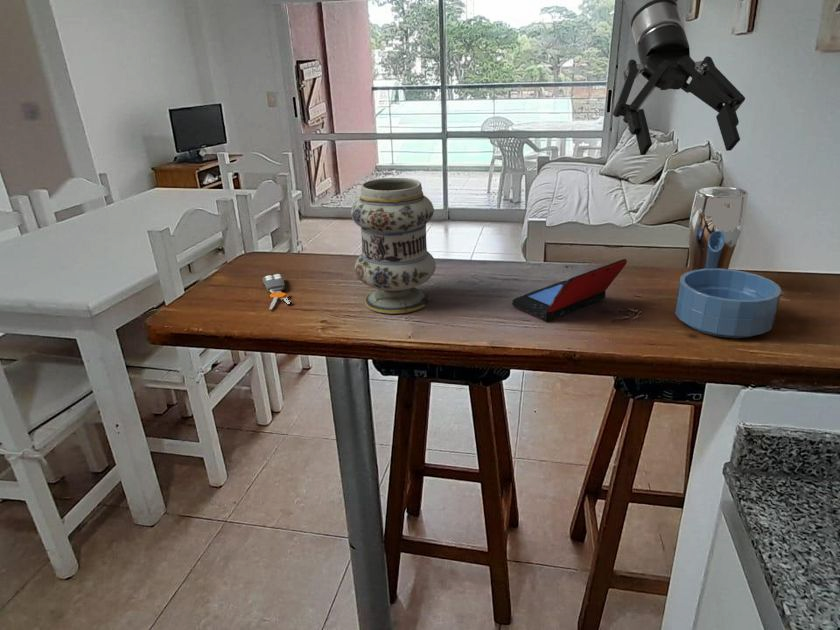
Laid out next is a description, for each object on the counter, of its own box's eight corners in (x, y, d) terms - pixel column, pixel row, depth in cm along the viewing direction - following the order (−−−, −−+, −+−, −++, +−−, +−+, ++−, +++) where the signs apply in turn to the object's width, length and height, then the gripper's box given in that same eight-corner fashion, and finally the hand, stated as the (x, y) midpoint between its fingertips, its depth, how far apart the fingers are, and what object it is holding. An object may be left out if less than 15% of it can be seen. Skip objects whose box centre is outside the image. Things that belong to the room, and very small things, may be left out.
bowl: (728, 300, 83) (735, 264, 80) (793, 334, 72) (803, 294, 70) (656, 310, 80) (662, 274, 78) (713, 347, 70) (721, 306, 68)
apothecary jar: (427, 320, 81) (422, 193, 73) (347, 315, 83) (334, 192, 76) (443, 288, 91) (440, 174, 84) (371, 285, 94) (362, 174, 86)
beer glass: (668, 287, 88) (683, 189, 82) (702, 279, 90) (719, 183, 84) (705, 302, 82) (724, 199, 76) (740, 293, 84) (761, 192, 78)
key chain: (261, 283, 97) (259, 274, 96) (283, 279, 98) (282, 271, 97) (269, 311, 86) (267, 302, 85) (294, 307, 87) (293, 298, 86)
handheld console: (567, 285, 90) (570, 240, 87) (624, 306, 82) (630, 257, 79) (508, 306, 84) (509, 258, 81) (564, 331, 76) (568, 279, 73)
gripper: (722, 55, 99) (755, 158, 92) (580, 61, 98) (602, 166, 91) (746, 18, 92) (784, 127, 85) (593, 25, 91) (618, 135, 84)
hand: (689, 147), depth 88 cm, fingers open, 13 cm apart
